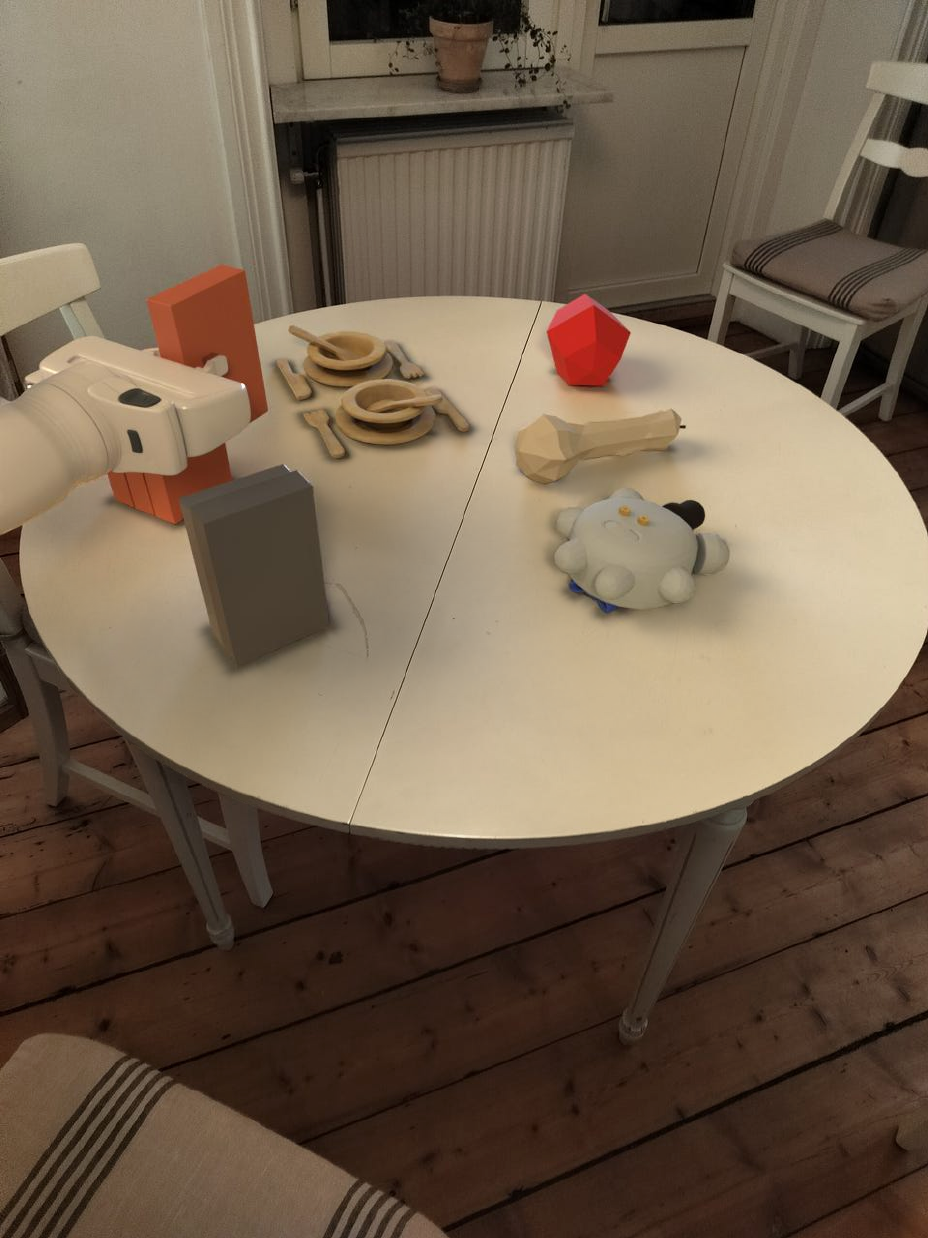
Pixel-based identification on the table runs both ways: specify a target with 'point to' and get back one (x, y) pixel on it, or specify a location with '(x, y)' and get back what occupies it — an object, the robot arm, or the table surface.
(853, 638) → the table surface
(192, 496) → the grey books
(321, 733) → the table surface
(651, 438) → the faceted club
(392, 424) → the tableware set
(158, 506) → the matching books
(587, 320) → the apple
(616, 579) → the figurine
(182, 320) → the terracotta book
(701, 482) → the table surface
